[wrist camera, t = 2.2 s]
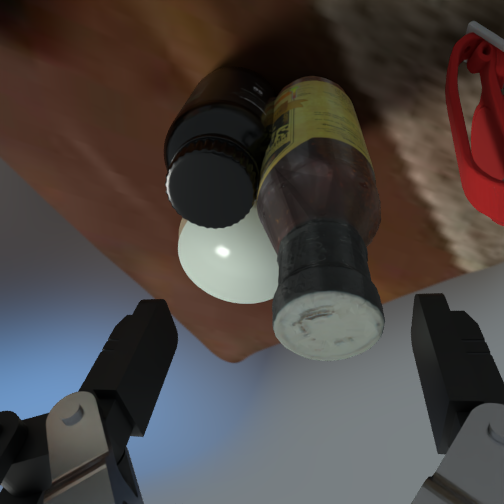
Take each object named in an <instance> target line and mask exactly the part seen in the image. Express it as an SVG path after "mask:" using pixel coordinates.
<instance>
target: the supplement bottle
mask: <svg viewBox="0 0 504 504" xmlns="http://www.w3.org/2000/svg"><path fill="white" fill-rule="evenodd" d="M276 97H277V95H276V93H275V91H274V90H273V88H272V87H271V85H270V84H269V83H268V82H267V81H266V80H265V79H264V78H263V77H262V76H260V75H259V74H257V73H256V72H254V71H252V70H249V69H246V68H242V67H224V68H220V69H217V70H215V71H213V72H211V73H210V74H208V75H207V76H206V77H204V78H203V79H202V80H201V81H200V83H199V84H198V85H197V86H196V88H195V89H194V91H193V92H192V94H191V95H190V97H189V98H188V100H187V101H186V103H185V105H184V106H183V108H182V109H181V111H180V112H179V114H178V115H177V117H176V118H175V120H174V121H173V123H172V125H171V127H170V128H169V130H168V133H167V135H166V139H165V143H164V161H165V165H166V169H167V174H166V182H165V186H166V188H167V189H166V193H167V195H168V200H169V201H170V202H171V203H172V207H173V208H174V209H176V211H177V213H178V214H179V215H181V216H182V217H183V218H184V219H186V220H188V221H189V222H190V223H193V224H196V225H198V226H201V227H205V228H213V229H217V228H225V227H229V226H232V225H233V224H236V223H239V221H240V220H242V219H244V218H245V216H246V215H247V214H248V213H249V212H250V209H251V208H252V207H253V205H254V202H255V201H256V200H257V196H258V186H259V180H260V172H261V166H262V162H263V159H264V156H265V152H266V150H267V149H268V146H269V144H270V141H271V138H272V131H273V118H274V103H275V100H276Z"/></svg>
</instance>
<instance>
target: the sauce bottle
mask: <svg viewBox="0 0 504 504" xmlns="http://www.w3.org/2000/svg"><path fill="white" fill-rule="evenodd" d="M380 203H381V202H380V199H379V194H378V191H377V188H376V180H375V174H374V170H373V167H372V164H371V160H370V157H369V154H368V151H367V148H366V145H365V141H364V138H363V135H362V131H361V128H360V125H359V122H358V119H357V115H356V113H355V109H354V106H353V104H352V102H351V100H350V98H349V97H348V96H347V95H346V94H345V92H344V90H343V88H341V87H340V86H339V85H338V84H336V83H334V82H333V81H331V80H328V79H326V78H322V77H317V76H306V77H302V78H300V79H297V80H295V81H293V82H291V83H290V84H289V85H287V86H285V87H284V88H283V89H282V90H281V92H280V93H279V95H278V96H277V97H276V100H275V103H274V118H273V131H272V138H271V141H270V144H269V146H268V149H267V150H266V152H265V156H264V159H263V162H262V166H261V172H260V180H259V186H258V196H257V213H258V217H259V219H260V222H261V224H262V226H263V228H264V230H265V232H266V234H267V236H268V238H269V240H270V242H271V244H272V246H273V248H274V250H275V252H276V254H277V263H278V266H279V276H278V287H277V290H276V292H275V294H274V298H273V304H272V311H273V329H274V332H275V336H276V337H277V338H278V340H279V341H280V342H281V343H282V344H283V346H284V347H286V348H287V349H289V350H291V351H293V352H294V353H296V354H298V355H300V356H303V357H305V358H308V359H314V360H325V361H331V360H340V359H346V358H350V357H353V356H355V355H358V354H361V353H363V352H365V351H366V350H368V349H370V348H371V347H372V346H373V345H374V344H375V343H376V342H377V341H378V340H379V339H380V337H381V335H382V333H383V329H384V323H385V319H384V313H383V307H382V304H381V301H380V296H379V294H378V291H377V288H376V287H375V285H374V284H373V283H372V281H371V277H370V272H369V268H368V264H367V261H368V257H367V255H368V253H367V246H368V245H369V244H370V243H371V242H372V239H373V238H374V236H375V235H376V232H377V231H378V228H379V225H380V222H381V211H380V208H381V207H380Z"/></svg>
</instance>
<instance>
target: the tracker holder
mask: <svg viewBox="0 0 504 504" xmlns="http://www.w3.org/2000/svg"><path fill="white" fill-rule="evenodd" d="M463 61H464V62H466V63H467V69H468V70H469V71H470V72H471V73H474V74H475V73H480V78H481V84H482V93H481V99H480V102H479V105H478V106H477V107H476V110H475V112H474V116H473V121H472V128H471V149H470V145H469V140H468V135H467V131H466V126H465V121H464V117H463V112H462V108H461V103H460V99H459V93H458V84H457V76H458V66H459V65H460V63H461V62H463ZM502 88H503V89H504V39H502V38H501V37H499V36H498V35H496V34H495V33H493V32H491V31H490V30H488V29H487V28H485V27H483V26H482V25H480V24H479V23H477V22H476V21H472V22H470V23H469V24H468V27H467V31H466V35H465V36H463V37H462V38H461V39H460V40H458V41H457V43H456V44H455V45H454V47H453V50H452V53H451V55H450V59H449V64H448V69H447V75H446V87H445V95H446V104H447V110H448V116H449V121H450V126H451V131H452V136H453V141H454V147H455V152H456V157H457V162H458V167H459V172H460V177H461V182H462V188H463V190H464V193H465V195H466V197H467V199H468V200H469V202H470V203H471V204H472V205H473V207H474V208H476V209H477V210H478V211H479V212H481V213H483V214H485V215H486V216H488V217H490V218H491V219H492V220H493V221H494V222H496V223H497V224H499V225H502V226H504V95H502V93H501V89H502ZM471 151H472V154H471Z"/></svg>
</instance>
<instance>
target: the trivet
mask: <svg viewBox="0 0 504 504" xmlns="http://www.w3.org/2000/svg"><path fill="white" fill-rule="evenodd" d="M178 254H179V258H180V262H181V264H182V267H183V269H184V270H185V272H186V274H187V275H188V276H189V278H190V279H191V280H192V281H193V282H194V283H195V284H196V285H197V286H198V287H200V288H201V289H202V290H204V291H205V292H207V293H209V294H210V295H212V296H214V297H217V298H219V299H222V300H225V301H229V302H233V303H243V304H250V303H259V302H264V301H267V300H270V299H272V298H274V294H275V292H276V290H277V287H278V276H279V266H278V263H277V254H276V252H275V250H274V248H273V246H272V244H271V242H270V240H269V238H268V236H267V234H266V232H265V230H264V228H263V226H262V224H261V222H260V219H259V217H258V213H257V200H256V201H255V202H254V205H253V207H252V208H251V209H250V212H249V213H248V214H247V215H246V216H245V218H244V219H242V220H240V221H239V223H236V224H233V225H232V226H229V227H225V228H217V229H213V228H205V227H201V226H198V225H196V224H193V223H190V222H189V221H188V220H186V219H184V218H182V221H181V224H180V228H179V242H178Z"/></svg>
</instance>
